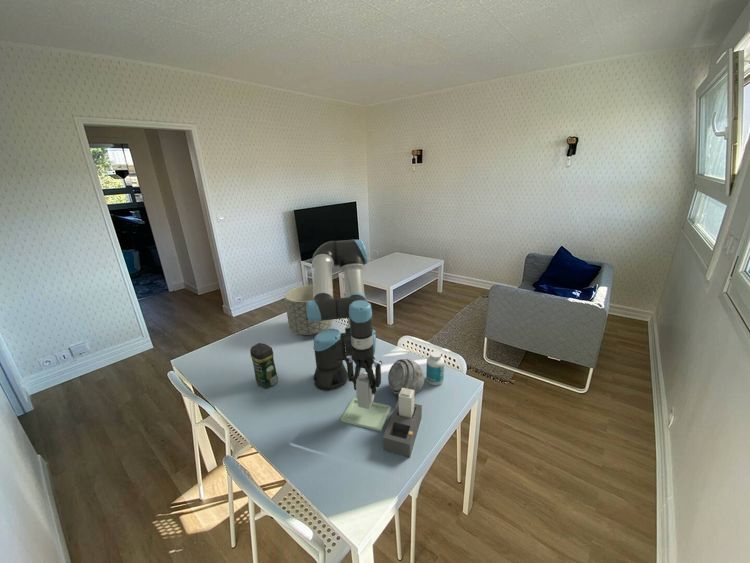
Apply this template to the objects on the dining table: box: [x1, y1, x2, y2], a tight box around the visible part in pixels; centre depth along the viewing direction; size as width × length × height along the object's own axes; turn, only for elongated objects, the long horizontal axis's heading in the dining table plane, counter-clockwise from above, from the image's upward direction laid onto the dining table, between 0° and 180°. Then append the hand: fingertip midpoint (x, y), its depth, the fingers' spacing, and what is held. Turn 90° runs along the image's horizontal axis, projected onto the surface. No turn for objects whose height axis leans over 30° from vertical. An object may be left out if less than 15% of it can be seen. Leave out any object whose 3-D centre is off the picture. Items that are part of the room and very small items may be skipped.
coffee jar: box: [249, 342, 279, 389], centre depth 134 cm, size 10×8×19 cm
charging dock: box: [382, 388, 423, 458], centre depth 105 cm, size 9×18×15 cm, turn 160°
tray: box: [340, 397, 392, 433], centre depth 116 cm, size 16×12×2 cm
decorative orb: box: [387, 358, 425, 396], centre depth 125 cm, size 15×14×15 cm
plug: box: [356, 372, 375, 409], centre depth 113 cm, size 4×4×13 cm
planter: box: [284, 284, 333, 336], centre depth 178 cm, size 25×25×24 cm
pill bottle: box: [425, 350, 445, 386], centre depth 132 cm, size 8×7×14 cm
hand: (365, 397), depth 114 cm, fingers closed on plug, 4 cm apart
